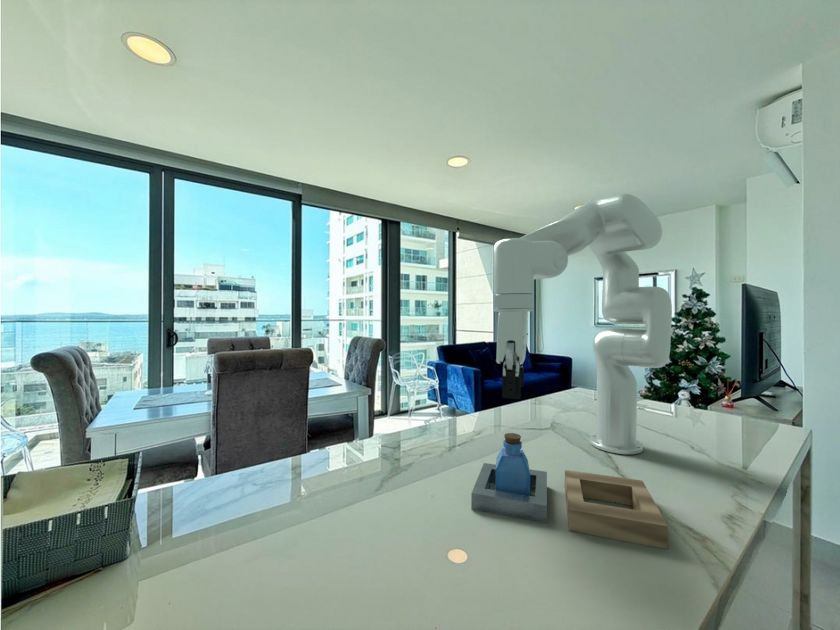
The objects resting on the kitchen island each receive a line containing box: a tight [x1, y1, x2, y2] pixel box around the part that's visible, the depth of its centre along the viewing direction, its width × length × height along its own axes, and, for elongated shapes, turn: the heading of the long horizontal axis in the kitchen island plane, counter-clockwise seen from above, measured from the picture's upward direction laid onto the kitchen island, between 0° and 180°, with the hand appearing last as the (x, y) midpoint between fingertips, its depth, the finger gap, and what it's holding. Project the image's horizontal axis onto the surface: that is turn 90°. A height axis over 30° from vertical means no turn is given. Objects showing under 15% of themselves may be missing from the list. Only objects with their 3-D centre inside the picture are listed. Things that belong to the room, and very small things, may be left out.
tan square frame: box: [564, 469, 669, 550], centre depth 66 cm, size 16×14×4 cm
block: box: [470, 462, 548, 524], centre depth 72 cm, size 14×13×3 cm
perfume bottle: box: [495, 432, 531, 496], centre depth 72 cm, size 6×6×12 cm
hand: (513, 391), depth 72 cm, fingers open, 9 cm apart
